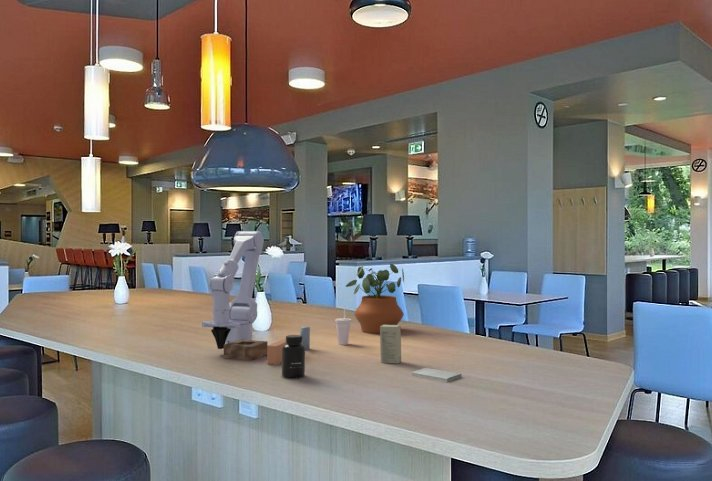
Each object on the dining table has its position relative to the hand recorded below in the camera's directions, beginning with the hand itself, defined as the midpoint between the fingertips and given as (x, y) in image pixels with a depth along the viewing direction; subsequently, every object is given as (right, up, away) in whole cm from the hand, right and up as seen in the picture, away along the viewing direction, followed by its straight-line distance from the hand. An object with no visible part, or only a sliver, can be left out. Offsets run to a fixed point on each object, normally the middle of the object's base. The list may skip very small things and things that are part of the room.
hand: (220, 348), depth 201 cm
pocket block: (+9, -2, -3) cm, 10 cm away
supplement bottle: (+29, -2, -32) cm, 43 cm away
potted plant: (+56, -2, +55) cm, 78 cm away
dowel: (+29, -2, +10) cm, 31 cm away
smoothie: (+43, -2, +20) cm, 47 cm away
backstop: (+23, -2, -8) cm, 25 cm away
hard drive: (+72, -3, -31) cm, 78 cm away
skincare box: (+59, -3, -12) cm, 61 cm away
